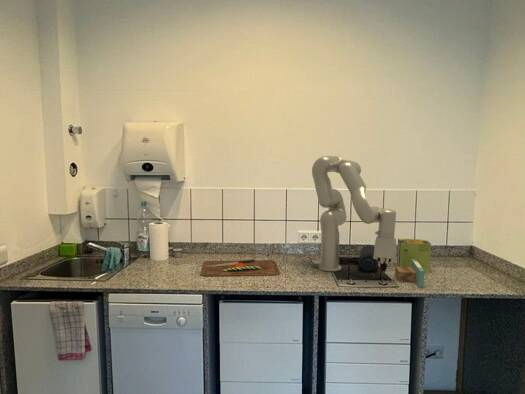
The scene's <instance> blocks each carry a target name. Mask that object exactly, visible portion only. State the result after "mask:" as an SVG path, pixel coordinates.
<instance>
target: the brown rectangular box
mask: <svg viewBox="0 0 525 394" xmlns="http://www.w3.org/2000/svg"><path fill="white" fill-rule="evenodd" d="M394 269H395V270H394V271H395V273H394V277H395V278H396V279H397V282H400V283H415V284H416V272H415V271H414V269H413V268H412V267H399V266H397V265H396V266H395V268H394Z"/></svg>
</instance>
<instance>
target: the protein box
mask: <svg viewBox="0 0 525 394" xmlns="http://www.w3.org/2000/svg"><path fill="white" fill-rule="evenodd" d="M431 249H432V244H431V243H430V241H429V240H428V239H420V238H419V239H417V238H398V239H397V249H396V266H399V267H411V259H412V260H416V261H417V262H418V263H419V264H420V265H421V267H422V268H423V270H424V271H425V273H426V274H427V273H428V274H429V273H430V268H431ZM425 273H424V274H425Z"/></svg>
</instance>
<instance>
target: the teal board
mask: <svg viewBox="0 0 525 394" xmlns="http://www.w3.org/2000/svg"><path fill="white" fill-rule="evenodd" d="M411 267H412V268H413V269H414V271H415V272H416V283H415V284H416V285H417V287H418V288H419V289H420V288H423V289H424V287H425V271H424V270H423V268H422V267H421V265H420V264H419V263H418V262H417V261H416V260H412V259H411Z"/></svg>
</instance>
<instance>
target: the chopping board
mask: <svg viewBox="0 0 525 394" xmlns="http://www.w3.org/2000/svg"><path fill="white" fill-rule="evenodd" d="M197 265H198V266H197V269H196V272H195V274H196V275H197V274H200V276H201V277H204V278H218V277H220V278H223V277H224V278H225V277H276V276H280V274H281V273H285V272H284V269H283V266H282V265H281V263H280V262H278V263H277V262H276V261H275V260H272V259H258V260H257V259H256V260H255V258H254V259H245V260H205V261H203V262H202V264H200V263H198V264H197ZM200 267H201V270H200V271H199V269H200ZM279 268H280V269H279Z"/></svg>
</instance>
